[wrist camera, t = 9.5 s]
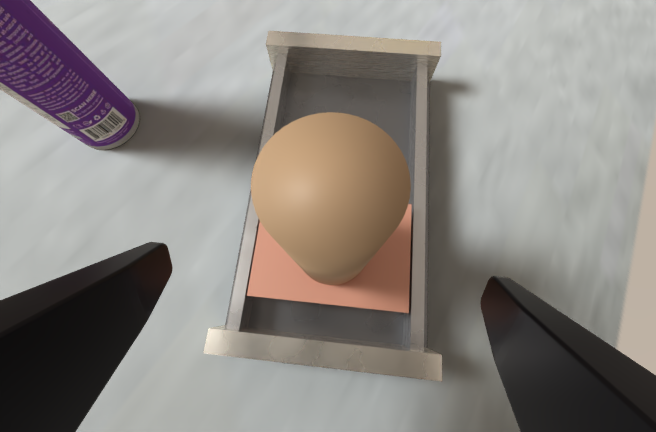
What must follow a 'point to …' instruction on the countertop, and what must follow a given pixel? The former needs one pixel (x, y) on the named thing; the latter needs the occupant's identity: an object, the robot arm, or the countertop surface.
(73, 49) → the container
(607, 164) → the countertop surface
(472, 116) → the countertop surface
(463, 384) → the countertop surface
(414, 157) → the slide base
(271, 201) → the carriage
